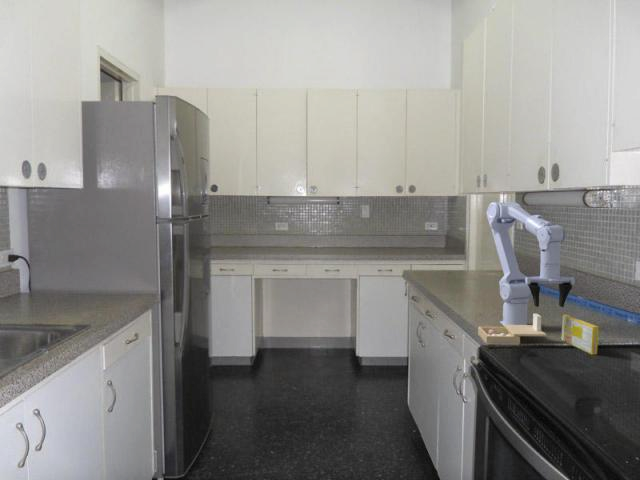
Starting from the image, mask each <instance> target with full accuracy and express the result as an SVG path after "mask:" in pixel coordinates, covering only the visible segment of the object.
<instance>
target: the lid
mask: <svg viewBox="0 0 640 480" xmlns="http://www.w3.org/2000/svg"><path fill="white" fill-rule="evenodd" d="M503 327H505V328H506V329H507V330H508V331H509V332H510V333H511V334H513V335H514V336H520V337H547V333H545V332H544V331H543V330H542V316H541V315H540V314H538V313H533V314H532V324H527V325H504V326H503Z"/></svg>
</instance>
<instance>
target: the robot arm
mask: <svg viewBox="0 0 640 480" xmlns="http://www.w3.org/2000/svg"><path fill="white" fill-rule="evenodd" d="M486 217H487V221H488V223H489V227H490V228H491V234H492V236H493V240H494V244H495V248H496V251H497V255H498V259H499V262H500V265H501V268H502V273H503V276H502V278H500V279H499V282H498V284H499V294H500V297H501V299H502V301H504V303H503V305H502V320H501V321H500V320H499V323H500V324H501V325H502V327H504V325H528V324H527V323H528V319H527V318H528V303H529V302H530V299H531V298H532V299H533V304H534V305H533V306H535V307H536V308H538V307H540V306H539V305H540V291H541V286H540V284H541V285H542V284H544V285H545V284H546V285H547V284H553V285H554V284H558V292H559V294H558V295H559V297H558V306H559V307H561V308H564V306H565V303H566V301H567V297H568V295H569V293H570V291H571V290H572V289H573V285H575V282H576V281H575V279H576V278H575V277H572V276H560V275H561V251H562V250H561V249H562V248H561V247H562V246H561V245H562V243H563V242H564V241H565V240H566V230H565V229H564V227H563V226H561V224H555V225H553V223H552V222H551V221H550V220H549V221H548V220H546V219H544V218H543V217H542V215H540V214H534V215H532V214H530V213H529V212H527V211H526V210H525V209H523V207H521V204H520V203H518V202H515V201H511V202H509V201H508V202H507V201H506V202H496V201H495V202H494V201H492V202H491V203H490V204H488V207H487V210H486ZM516 221H518V222H519V223H521V224H523V225H524V227H525V230H527V231H528V232H529V233H530V234H533V235H534V236H535V237H536V239H537V241H538V244H539V245H538V247H539V250H540V264H539V265H540V266H539V267H540V271H539V276H538V275H537V276H527V275H525V274H523V273H522V272H521V271H520V268H519V264H518V260H517V257H516V254H515V251H514V248H513V247H514V246H513V243H512V240H511V237H510V233H509V229H511V228H512V227H513V226H514V224H515V222H516Z"/></svg>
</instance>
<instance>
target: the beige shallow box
mask: <svg viewBox="0 0 640 480" xmlns="http://www.w3.org/2000/svg"><path fill="white" fill-rule="evenodd" d="M477 331H478V332H477V335H478V336H479V337H480V339H482V342H484V344H485V345H488V346H489V345H491V346H492V345H493V346H494V345H495V346H521V336H514V335H513V334H511V333H510V332H509V331H508V330H507V329H506V328H505V327H504V326H478V329H477Z"/></svg>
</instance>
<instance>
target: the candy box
mask: <svg viewBox="0 0 640 480" xmlns="http://www.w3.org/2000/svg"><path fill="white" fill-rule="evenodd" d="M561 326H562V327H561V339H562V340H561V341H563V340H564V341H563V342H565V341H566V342H565V343H567V344H569V345H571V346H572V347H575V348H577V349H579V350H582V352H585V353H587V354H590V355H591V356H594V355H595V356H596V355H598V346H599V334H600V333H599V332H600V329H599V328H600V327H599V326H597V325H595V324H592V323H590V322H587V321H584V320H582V319H579V318H577V317H574V316H572V315H569V314H562V323H561Z"/></svg>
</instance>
